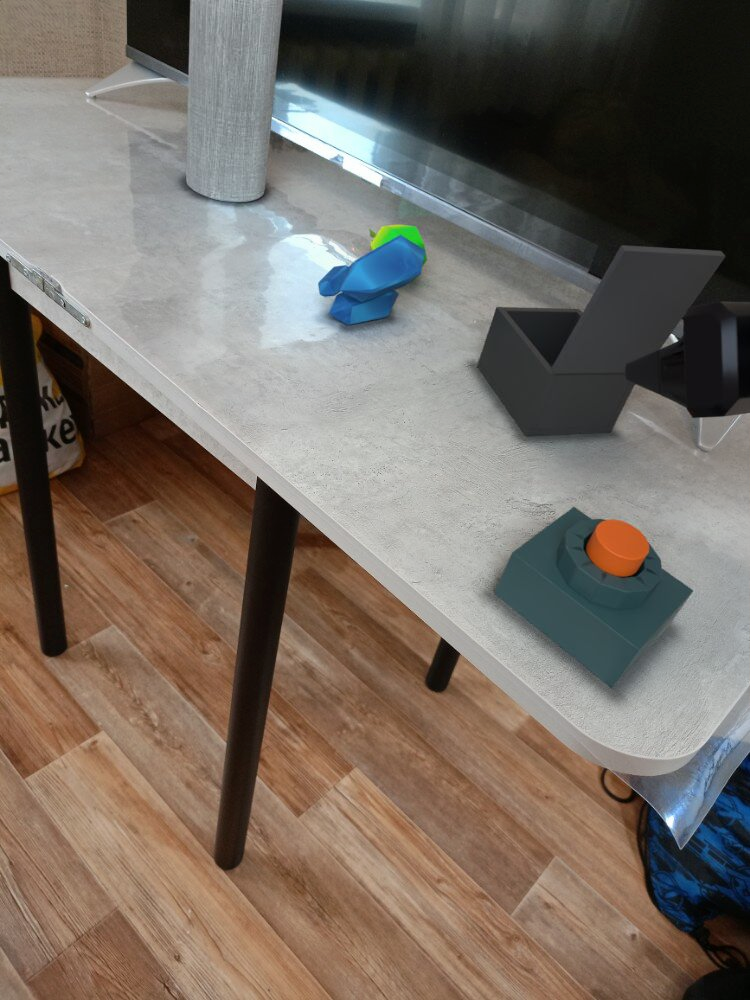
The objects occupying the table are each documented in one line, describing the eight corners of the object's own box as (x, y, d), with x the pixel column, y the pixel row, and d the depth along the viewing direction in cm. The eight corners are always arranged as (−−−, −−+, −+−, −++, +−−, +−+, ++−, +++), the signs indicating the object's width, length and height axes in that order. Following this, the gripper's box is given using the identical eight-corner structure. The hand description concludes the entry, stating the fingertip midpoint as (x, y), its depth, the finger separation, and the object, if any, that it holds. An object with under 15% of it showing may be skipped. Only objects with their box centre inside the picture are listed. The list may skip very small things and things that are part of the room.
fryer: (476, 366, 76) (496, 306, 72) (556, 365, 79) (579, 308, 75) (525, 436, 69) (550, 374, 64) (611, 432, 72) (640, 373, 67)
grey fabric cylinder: (279, 192, 100) (306, -56, 82) (232, 210, 93) (250, -58, 75) (219, 166, 102) (232, -80, 84) (169, 182, 95) (171, -83, 77)
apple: (429, 226, 81) (377, 191, 86) (387, 268, 81) (338, 231, 86) (446, 266, 87) (398, 232, 92) (408, 305, 88) (361, 269, 92)
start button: (647, 561, 50) (659, 543, 49) (622, 585, 48) (633, 567, 47) (603, 529, 52) (613, 511, 51) (575, 552, 50) (585, 533, 48)
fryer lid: (621, 244, 55) (625, 250, 54) (721, 250, 58) (726, 256, 58) (550, 368, 64) (554, 373, 64) (640, 367, 67) (644, 372, 67)
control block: (666, 628, 54) (706, 572, 50) (611, 688, 49) (651, 631, 45) (554, 545, 58) (583, 488, 54) (493, 593, 53) (520, 533, 49)
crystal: (302, 247, 73) (396, 207, 78) (307, 321, 79) (393, 279, 84) (350, 283, 69) (445, 238, 74) (351, 357, 76) (438, 311, 81)
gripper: (989, 201, 45) (736, 258, 58) (843, 166, 34) (573, 245, 47) (987, 390, 46) (740, 404, 59) (846, 411, 36) (582, 423, 48)
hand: (667, 369), depth 53 cm, fingers open, 9 cm apart
